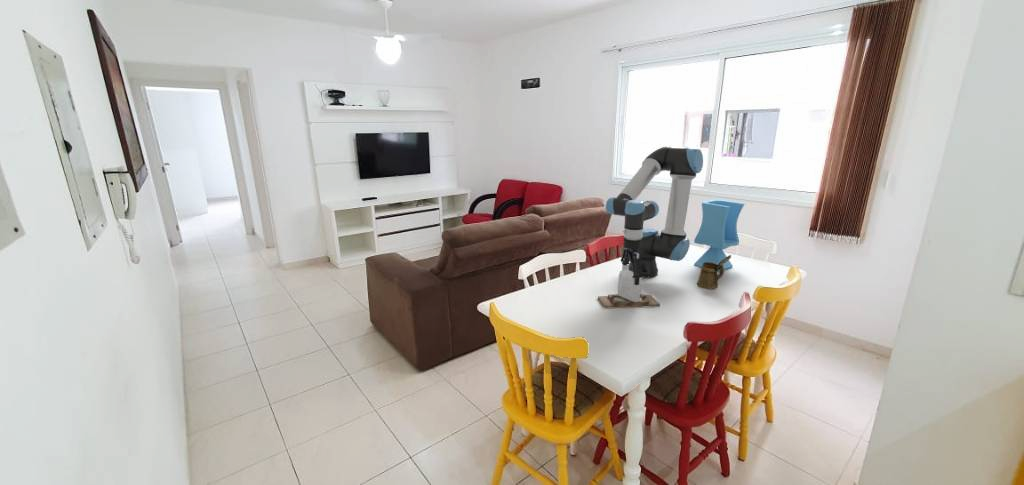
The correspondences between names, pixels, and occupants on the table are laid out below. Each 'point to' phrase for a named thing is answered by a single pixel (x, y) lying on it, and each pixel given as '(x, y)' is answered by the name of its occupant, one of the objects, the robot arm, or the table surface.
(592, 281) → the table surface
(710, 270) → the wooden mug
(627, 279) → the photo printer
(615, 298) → the brown flat rectangular piece
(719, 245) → the planter
